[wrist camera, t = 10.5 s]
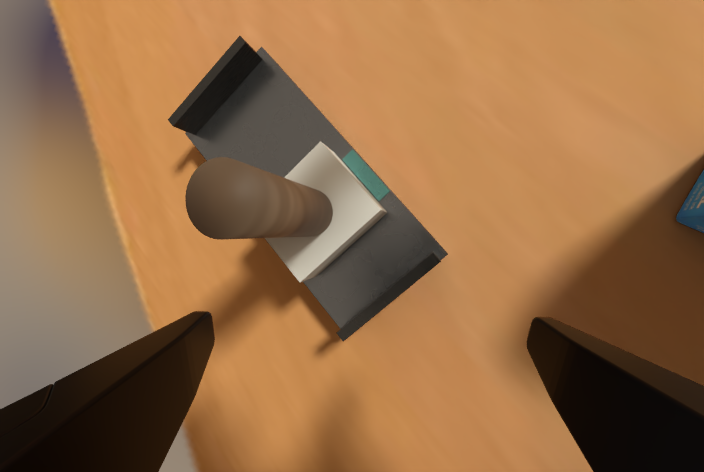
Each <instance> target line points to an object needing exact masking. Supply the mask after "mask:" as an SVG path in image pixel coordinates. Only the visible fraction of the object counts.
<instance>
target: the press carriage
mask: <svg viewBox="0 0 704 472" xmlns="http://www.w3.org/2000/svg"><path fill="white" fill-rule="evenodd" d="M186 208H187V212H188V215H189V218H190V220H191V222H192V223H193V225H194V226H195V227H196V228H197V229H198V230H199V231H200V232H201V233H202V234H204V235H206V236H208V237H210V238H213V239H247V238H265V239H266V241H267V242H268V243H269V244H270V246H271V247H272V248H273V249H274V251H275V252H276V253H277V254H278V256H279V257H280V258H281V260H282V261H283V262H284V263H285V265H286V266H287V267H288V268H289V270H290V271H291V272H292V273H293V275H294V276H295V277H296V278H297V280H298V281H299V282H300V283H301V282H303V281H306V280H308V279H311V278H314V277H316V276H317V275H318V274H319V273H321V272H322V271H323V270H324V269H325V268H326V267H327V266H328V265H330V264H331V263H332V262H333V261H334V260H335V259H336V258H337V257H338V256H340V255H341V254H342V253H343V252H344V251H345V250H346V249H347V248H349V247H350V246H351V245H352V244H353V243H354V242H355V241H356V240H357V239H359V238H360V237H361V236H362V235H363V234H364V233H365V232H366V231H368V230H369V229H370V228H371V227H372V226H373V225H374V224H375V223H377V222H378V221H379V220H380V219H381V218H382V217H383V216H384V215H385V214H387V211H386V210H385V209H384V208H383V207H382V206H381V205H380V204H379V202H378V201H377V200H376V199H375V198H374V197H373V196H372V194H371V193H370V192H369V191H368V190H367V189H366V188H365V187H364V185H363V184H362V183H361V182H360V181H359V180H358V179H357V177H356V176H355V175H354V174H353V173H352V172H351V171H350V170H349V168H348V167H347V166H346V165H345V164H344V163H343V162H342V160H341V159H340V158H339V157H338V156H337V155H336V154H335V153H334V152H333V151H332V150H331V149H330V148H328V147H327V146H326V145H325V144H323V143H322V142H321V141H320V142H319V143H318V144H317V145H316V146H315V147H314V148H313V149H312V150H311V151H310V152H309V153H308V154H307V155H306V156H305V157H304V158H303V159H302V160H301V161H300V162H299V163H298V164H297V165H296V166H295V167H294V168H293V169H292V170H291V171H290V172H289V173H288V174H287V175H286V176H285V177H284V178H283V177H281V176H278V175H275V174H273V173H270V172H267V171H264V170H262V169H259V168H256V167H253V166H251V165H248V164H245V163H243V162H240V161H237V160H234V159H232V158H228V157H217V158H213V159H210V160H208V161H206V162H204V163H203V164H201V165H200V166H199V167H198V168H197V169H196V170H195V172H194V173H193V175H192V176H191V178H190V180H189V183H188V186H187V190H186Z"/></svg>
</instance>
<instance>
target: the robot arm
mask: <svg viewBox="0 0 704 472" xmlns="http://www.w3.org/2000/svg"><path fill="white" fill-rule="evenodd" d="M214 340H215V337H214V329H213V321H212V316H211V313H209V312H204V311H195V312H192V313H190V314H188V315H186V316H184V317H182V318H180V319H178V320H177V321H175V322H173V323H171V324H169V325H167V326H165V327H163V328H161V329H159V330H157V331H155V332H153V333H151V334H149V335H147V336H145V337H143V338H141V339H139V340H137V341H135V342H133V343H131V344H129V345H127V346H125V347H123V348H121V349H119V350H117V351H115V352H114V353H111V354H109V355H107V356H105V357H103V358H102V359H100V360H98V361H96V362H94V363H92V364H90V365H88V366H86V367H84V368H82V369H80V370H78V371H76V372H74V373H72V374H70V375H68V376H66V377H64V378H62V379H60V380H58V381H56V382H55V383H54V385H53V384H50V385H48V386H46V387H44V388H42V389H40V390H38V391H36V392H34V393H33V394H31V395H28V396H26V397H24V398H22V399H20V400H18V401H16V402H14V403H12V404H10V405H8V406H6V407H4V408H2V409H0V472H158V471H159V469H160V467H161V465H162V463H163V461H164V459H165V457H166V455H167V453H168V451H169V449H170V447H171V445H172V443H173V441H174V439H175V437H176V435H177V433H178V431H179V429H180V427H181V425H182V423H183V420H184V418H185V416H186V414H187V412H188V410H189V408H190V406H191V404H192V402H193V400H194V397H195V395H196V392H197V390H198V387H199V385H200V382H201V379H202V376H203V373H204V371H205V368H206V365H207V362H208V360H209V357H210V354H211V351H212V349H213V346H214ZM527 349H528V352H529V354H530V356H531V358H532V360H533V362H534V364H535V367H536V369H537V371H538V373H539V375H540V377H541V379H542V381H543V384H544V386H545V388H546V390H547V392H548V394H549V396H550V398H551V400H552V402H553V404H554V405H555V407H556V409H557V411H558V412H559V414H560V416H561V418H562V419H563V421H564V423H565V424H566V426H567V428H568V429H569V431H570V433H571V434H572V436H573V438H574V440H575V441H576V443H577V445H578V446H579V448H580V450H581V451H582V453H583V455H584V456H585V458H586V460H587V462H588V463H589V465H590V467H591V468H592V470H593V472H704V386H702V385H700V384H698V383H696V382H693V381H691V380H689V379H687V378H685V377H682V376H680V375H678V374H676V373H673V372H671V371H669V370H667V369H664V368H662V367H660V366H658V365H656V364H653V363H651V362H649V361H647V360H644V359H642V358H640V357H638V356H635V355H633V354H631V353H629V352H626V351H624V350H622V349H620V348H618V347H615V346H613V345H611V344H609V343H606V342H604V341H602V340H600V339H597V338H595V337H593V336H591V335H589V334H586V333H584V332H582V331H580V330H577V329H575V328H573V327H571V326H568V325H566V324H564V323H562V322H560V321H557V320H555V319H553V318H550V317H535V318H534V319H533V320H532V323H531V327H530V331H529V334H528V338H527Z"/></svg>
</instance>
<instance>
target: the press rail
mask: <svg viewBox="0 0 704 472" xmlns="http://www.w3.org/2000/svg"><path fill="white" fill-rule="evenodd" d="M168 120H169V122H170V123H171V124H172V126H174V127H176V128H179V129H181V130H184V131H186V133H185V134H186V135H187V136H188V138H189V139H190V140H191V141H192V143H193V144H194V145H195V146H196V148H197V149H198V150H199V151H200V153H201V154H202V155H203V156H204V158H205V159H206V160H207V161H208V160H210V159H213V158H217V157H228V158H232V159H234V160H237V161H240V162H243V163H245V164H248V165H251V166H253V167H256V168H259V169H262V170H264V171H267V172H270V173H273V174H275V175H278V176H281V177H283V178H284V177H285V176H286V175H287V174H288V173H289V172H290V171H291V170H292V169H293V168H294V167H295V166H296V165H297V164H298V163H299V162H300V161H301V160H302V159H303V158H304V157H305V156H306V155H307V154H308V153H309V152H310V151H311V150H312V149H313V148H314V147H315V146H316V145H317V144H318V143H319V142H320V141H321V142H322V143H323V144H325V145H326V146H327V147H328V148H330V149H331V150H332V151H333V152H334V153H335V154H336V155H337V156H338V157H339V158H340V159H341V160H342V162H343V163H344V164H345V165H346V166H347V167H348V168H349V170H350V171H351V172H352V173H353V174H354V175H355V176H356V177H357V179H358V180H359V181H360V182H361V183H362V184H363V185H364V187H365V188H366V189H367V190H368V191H369V192H370V193H371V194H372V196H373V197H374V198H375V199H376V200H377V201H378V202H379V204H380V205H381V206H382V207H383V208H384V209H385V210H386V211H387V214H385V215H384V216H383V217H382V218H381V219H380V220H379V221H378V222H377V223H375V224H374V225H373V226H372V227H371V228H370V229H369V230H368V231H366V232H365V233H364V234H363V235H362V236H361V237H360V238H359V239H357V240H356V241H355V242H354V243H353V244H352V245H351V246H350V247H349V248H347V249H346V250H345V251H344V252H343V253H342V254H341V255H340V256H338V257H337V258H336V259H335V260H334V261H333V262H332V263H331V264H330V265H328V266H327V267H326V268H325V269H324V270H323V271H322V272H321V273H319V274H318V275H317V276H316V277H314V278H311V279H308V280H306V281H303V282H304V284H305V285H306V286H307V287H308V289H309V290H310V291H311V292H312V294H313V295H314V296H315V297H316V299H317V300H318V301H319V302H320V304H321V305H322V306H323V307H324V309H325V310H326V311H327V313H328V314H329V315H330V316H331V318H332V319H333V320H334V321H335V323H336V324H337V325H338V326H339V328H340V330H339V331H338V332H337V334H338V336H339V337H340V338H341V339H342V341H344V340H346V339H347V338H348V337H349V336H351V335H352V334H353V333H354V332H355V331H357V330H358V329H359V328H360V327H362V326H363V325H364V324H365V323H366V322H368V321H369V320H370V319H371V318H372V317H374V316H375V315H376V314H377V313H379V312H380V311H381V310H382V309H383V308H385V307H386V306H387V305H388V304H390V303H391V302H392V301H393V300H394V299H396V298H397V297H398V296H399V295H400V294H402V293H403V292H404V291H405V290H407V289H408V288H409V287H410V286H411V285H413V284H414V283H415V282H416V281H417V280H419V279H420V278H421V277H422V276H424V275H425V274H426V273H427V272H428V271H430V270H431V269H432V268H433V267H435V266H436V265H437V264H438V263H439V262H441V259H443V258H444V257H445V256H446V255H448V253H447V252H446V251H445V250H444V249H443V248H442V247H441V245H440V244H439V243H438V242H437V241H436V240H435V239H434V238H433V237H432V235H431V234H430V233H429V232H428V231H427V230H426V229H425V228H424V227H423V225H422V224H421V223H420V222H419V221H418V220H417V219H416V218H415V216H414V215H413V214H412V213H411V212H410V211H409V210H408V209H407V208H406V206H405V205H404V204H403V203H402V202H401V201H400V200H399V199H398V198H397V196H396V195H395V194H394V193H393V192H392V191H391V190H390V189H389V188H388V186H387V185H386V184H385V183H384V182H383V181H382V180H381V179H380V178H379V176H378V175H377V174H376V173H375V172H374V171H373V170H372V169H371V167H370V166H369V165H368V164H367V163H366V162H365V161H364V160H363V159H362V157H361V156H360V155H359V154H358V153H357V152H356V151H355V150H354V149H353V147H352V146H351V145H350V144H349V143H348V142H347V141H346V140H345V139H344V137H343V136H342V135H341V134H340V133H339V132H338V131H337V130H336V129H335V127H334V126H333V125H332V124H331V123H330V122H329V121H328V120H327V118H326V117H325V116H324V115H323V114H322V113H321V112H320V111H319V110H318V108H317V107H316V106H315V105H314V104H313V103H312V102H311V101H310V100H309V98H308V97H307V96H306V95H305V94H304V93H303V92H302V91H301V90H300V88H299V87H298V86H297V85H296V84H295V83H294V82H293V81H292V80H291V78H290V77H289V76H288V75H287V74H286V73H285V72H284V71H283V69H282V68H281V67H280V66H279V65H278V64H277V63H276V62H275V61H274V59H273V58H272V57H271V56H270V55H269V54H268V53H267V52H266V51H265V50H264V49H263V48H262V47H261V48H260V49H259V50H258V51H257V52H256V51H255V50H254V49H253V48H252V47H251V46H250V45H249V44H248V43H247V42H246V41H245V40H244V39H243V38H242V37H241V36H239V37H238V38H237V40H236V41H235V42H234V43H233V44H232V45H231V47H230V48H229V49H228V50H227V51H226V52H225V54H224V55H223V56H222V57H221V58H220V59H219V61H218V62H217V63H216V64H215V65H214V66H213V68H212V69H211V70H210V71H209V72H208V73H207V75H206V76H205V77H204V78H203V79H202V80H201V82H200V83H199V84H198V85H197V86H196V87H195V89H194V90H193V91H192V92H191V93H190V94H189V96H188V97H187V98H186V99H185V100H184V101H183V103H182V104H181V105H180V106H179V107H178V108H177V110H176V111H175V112H174V113H173V114H172V115H171V117H170V118H169V119H168Z"/></svg>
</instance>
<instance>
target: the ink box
mask: <svg viewBox="0 0 704 472" xmlns="http://www.w3.org/2000/svg"><path fill="white" fill-rule="evenodd" d="M676 220H677V221H678V222H679V223H681V224H684V225H686V226H688V227H691V228H693V229H696V230H698V231H700V232H702V233H704V170H703V171H702V173H701V175H700V176H699V178H698V180H697V182H696V183H695V185H694V186H693V188H692V190H691V191H690V193H689V195H688V197H687V198H686V200H685V202H684V203H683V205H682V207H681V209H680V211H679V212H678V214H677V217H676Z"/></svg>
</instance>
